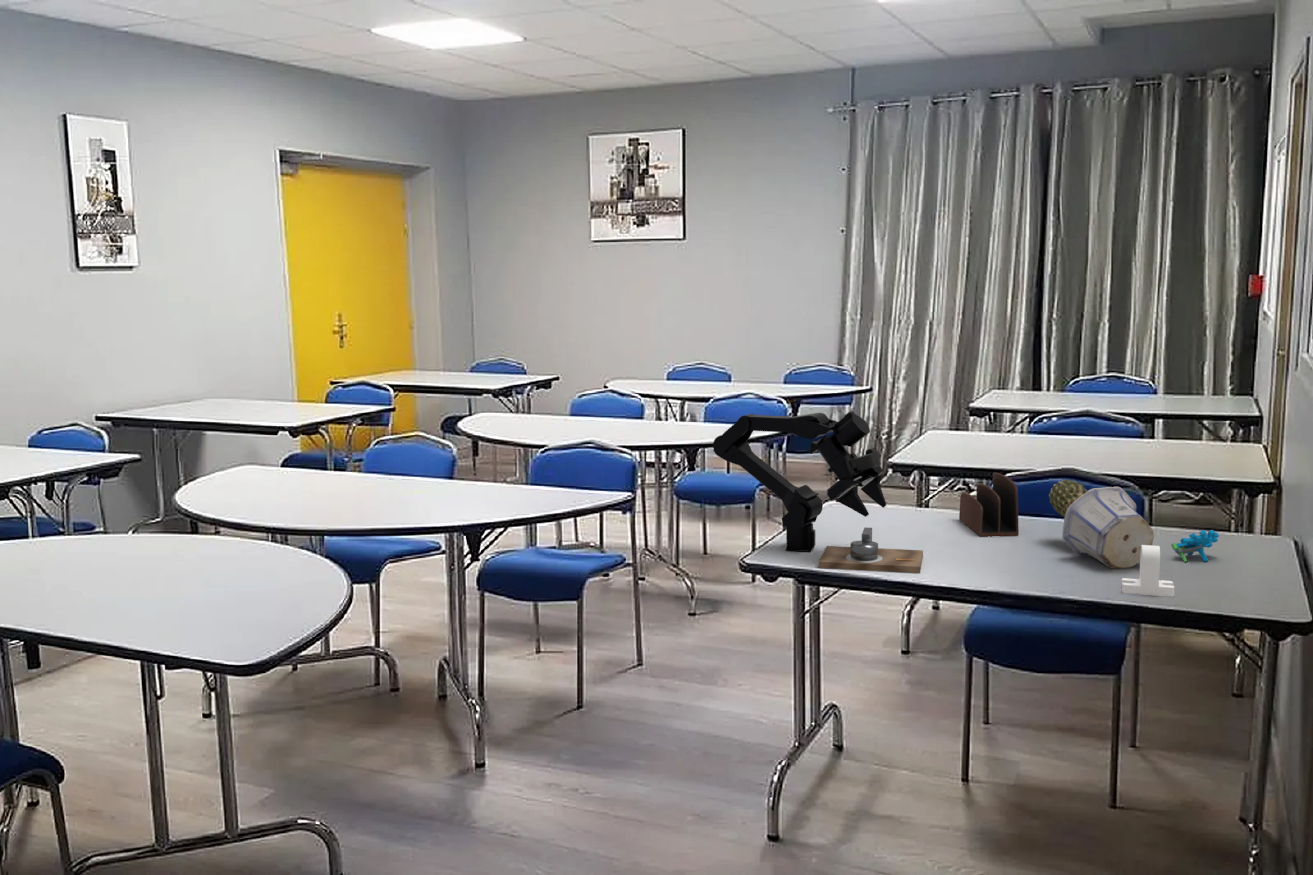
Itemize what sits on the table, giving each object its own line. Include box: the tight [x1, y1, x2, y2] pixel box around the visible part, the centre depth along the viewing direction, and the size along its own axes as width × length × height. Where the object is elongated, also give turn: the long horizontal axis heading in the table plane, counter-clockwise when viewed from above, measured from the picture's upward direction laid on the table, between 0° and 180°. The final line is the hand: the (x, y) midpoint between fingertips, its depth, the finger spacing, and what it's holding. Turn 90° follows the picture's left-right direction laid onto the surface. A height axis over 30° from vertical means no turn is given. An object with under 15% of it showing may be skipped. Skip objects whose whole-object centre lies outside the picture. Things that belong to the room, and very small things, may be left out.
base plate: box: [818, 545, 924, 574], centre depth 260 cm, size 23×15×2 cm, turn 74°
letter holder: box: [958, 472, 1020, 538], centre depth 290 cm, size 10×20×14 cm, turn 0°
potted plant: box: [1048, 479, 1155, 570], centre depth 261 cm, size 18×18×30 cm
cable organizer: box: [1121, 544, 1175, 598], centre depth 231 cm, size 5×10×10 cm, turn 70°
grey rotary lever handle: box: [849, 526, 879, 560], centre depth 261 cm, size 13×6×4 cm, turn 164°
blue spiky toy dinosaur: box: [1170, 529, 1220, 563], centre depth 255 cm, size 11×6×10 cm
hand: (876, 511), depth 261 cm, fingers open, 9 cm apart
